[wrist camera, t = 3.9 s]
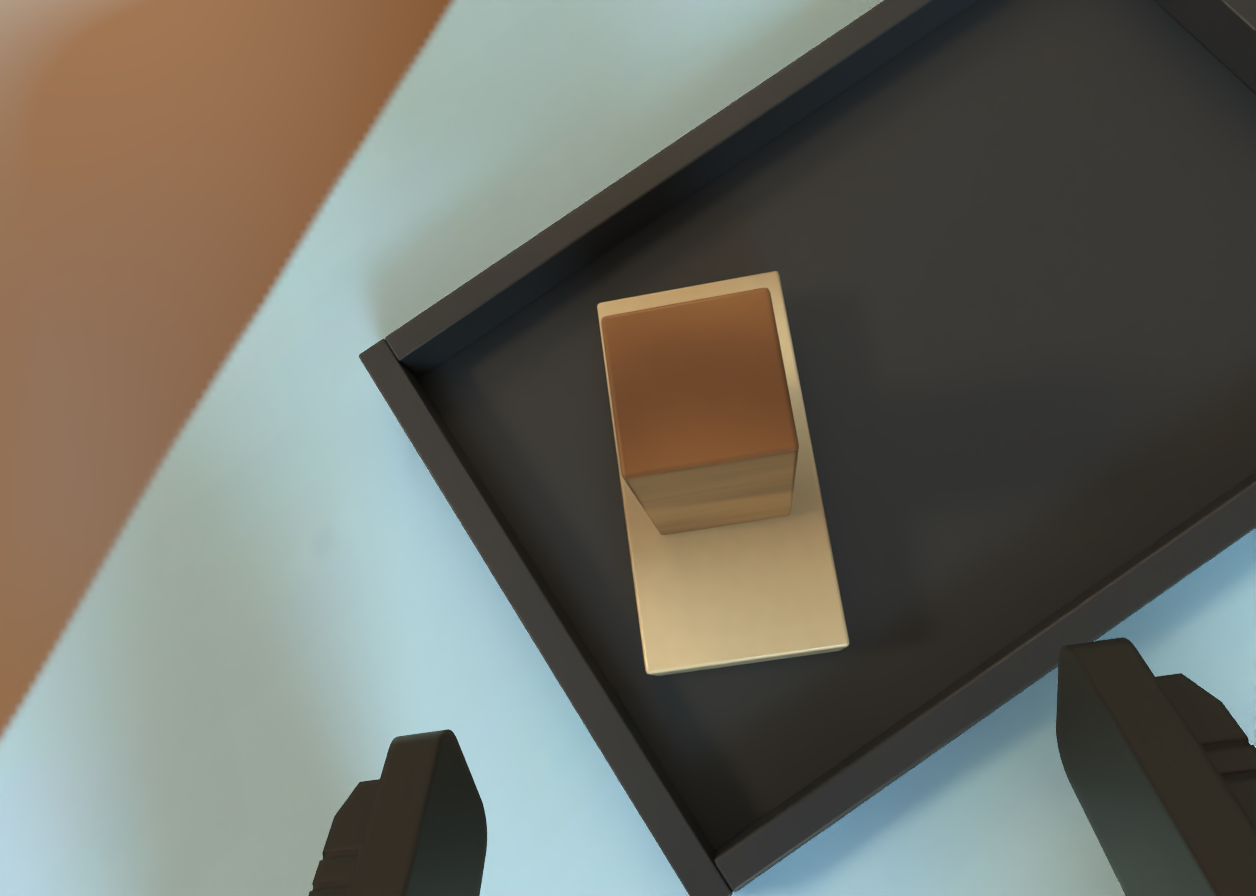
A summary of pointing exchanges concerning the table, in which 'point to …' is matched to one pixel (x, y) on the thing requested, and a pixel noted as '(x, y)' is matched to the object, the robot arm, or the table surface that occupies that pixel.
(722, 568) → the stacked wooden blocks
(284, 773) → the table surface
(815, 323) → the tray
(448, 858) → the robot arm
